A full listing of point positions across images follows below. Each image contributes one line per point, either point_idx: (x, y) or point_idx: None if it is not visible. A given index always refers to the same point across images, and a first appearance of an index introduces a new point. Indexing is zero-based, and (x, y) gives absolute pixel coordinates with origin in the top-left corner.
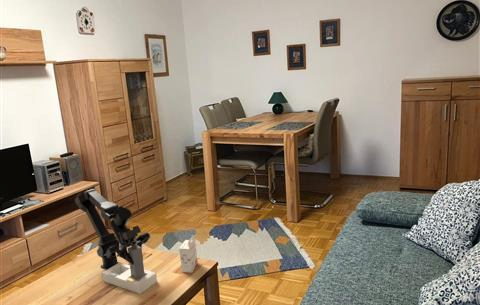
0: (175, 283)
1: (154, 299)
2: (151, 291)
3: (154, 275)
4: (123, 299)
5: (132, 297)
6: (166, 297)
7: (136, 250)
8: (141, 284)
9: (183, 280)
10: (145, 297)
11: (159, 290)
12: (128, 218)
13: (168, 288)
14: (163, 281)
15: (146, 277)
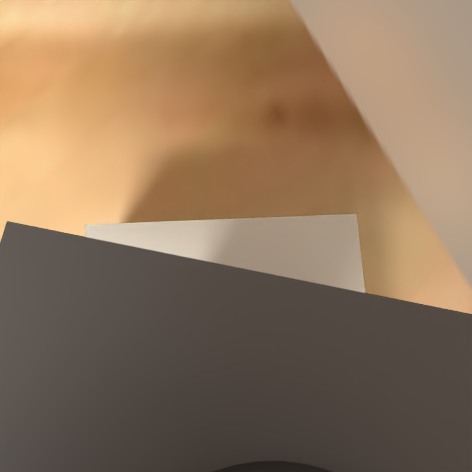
0: (69, 79)
1: (323, 77)
2: (256, 175)
3: (119, 226)
4: (463, 303)
5: (401, 255)
6: (257, 16)
7: (353, 297)
8: (320, 217)
9: (2, 50)
10: (342, 157)
11: (212, 126)
12: None
13: (155, 81)
14: (87, 191)
15: (209, 253)
